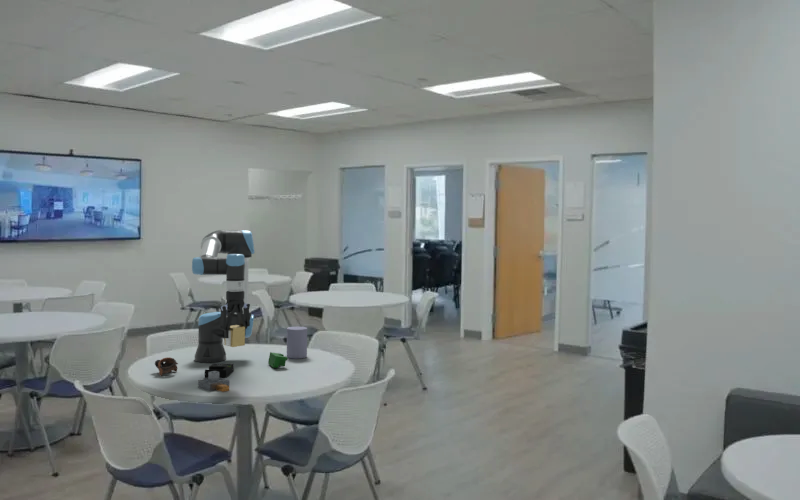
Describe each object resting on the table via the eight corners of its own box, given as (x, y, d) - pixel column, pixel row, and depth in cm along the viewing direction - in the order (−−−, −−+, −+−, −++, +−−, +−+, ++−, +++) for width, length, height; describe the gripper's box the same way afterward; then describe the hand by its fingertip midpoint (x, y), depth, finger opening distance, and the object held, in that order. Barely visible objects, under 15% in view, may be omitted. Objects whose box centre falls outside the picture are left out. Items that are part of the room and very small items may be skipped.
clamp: (283, 375, 304) (288, 359, 302) (271, 374, 302) (276, 358, 299) (279, 361, 315) (284, 346, 312) (267, 360, 312) (272, 344, 309)
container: (310, 357, 328) (310, 328, 327) (291, 359, 322) (292, 330, 321) (301, 354, 336) (301, 326, 336) (283, 356, 330) (283, 327, 330)
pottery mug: (183, 372, 292) (181, 358, 287) (170, 385, 284) (168, 371, 280) (161, 364, 295) (159, 351, 291) (148, 377, 287) (145, 364, 283)
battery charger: (212, 371, 295) (213, 363, 295) (233, 372, 295) (233, 363, 295) (204, 378, 282) (204, 369, 282) (226, 379, 282) (226, 370, 282)
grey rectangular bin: (198, 387, 266) (198, 371, 266) (217, 383, 273) (217, 368, 272) (216, 393, 257) (216, 377, 257) (235, 389, 264) (235, 373, 263)
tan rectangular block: (224, 345, 271) (224, 326, 271) (236, 343, 276) (236, 324, 275) (232, 347, 267) (233, 328, 267) (244, 345, 272) (245, 326, 271)
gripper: (221, 292, 261) (220, 348, 261) (259, 289, 275) (258, 342, 276) (210, 291, 265) (210, 346, 266) (248, 288, 280) (248, 340, 281)
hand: (234, 344), depth 271 cm, fingers closed on tan rectangular block, 6 cm apart
